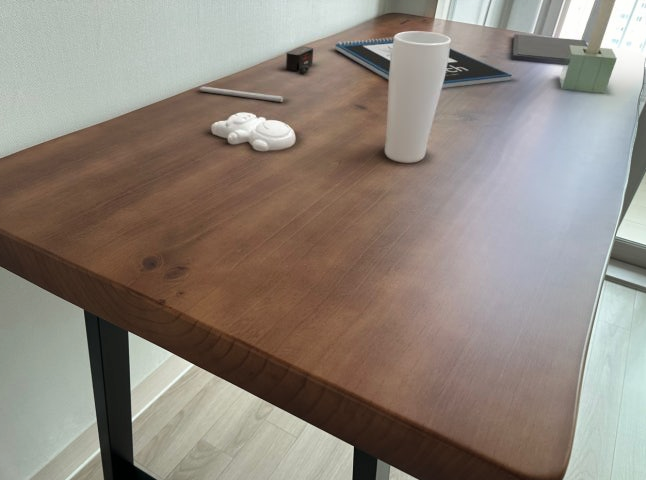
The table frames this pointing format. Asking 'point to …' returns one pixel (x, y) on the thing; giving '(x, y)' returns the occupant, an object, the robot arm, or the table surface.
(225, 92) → the pencil
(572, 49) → the pen block
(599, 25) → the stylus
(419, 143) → the drinking glass
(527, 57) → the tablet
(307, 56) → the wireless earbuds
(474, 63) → the sketchbook
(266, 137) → the white animal figurine
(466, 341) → the table surface
